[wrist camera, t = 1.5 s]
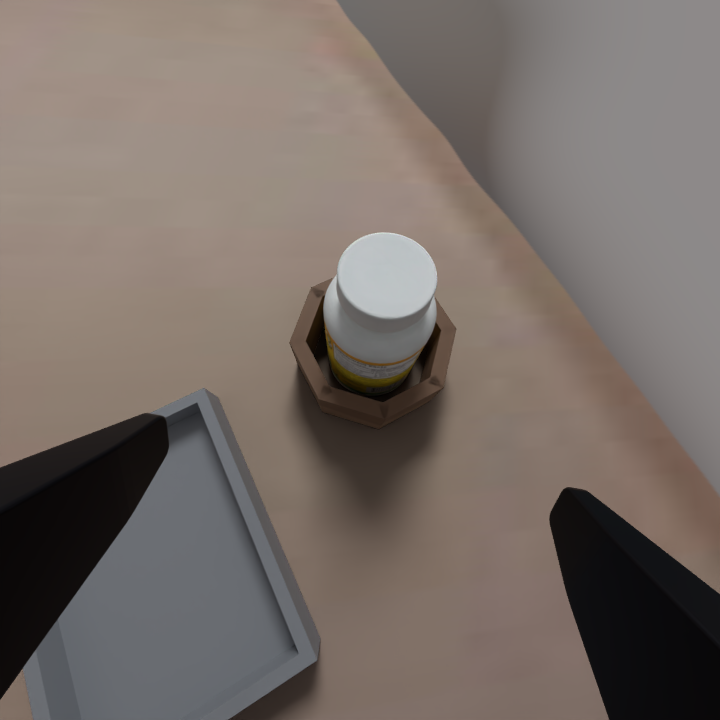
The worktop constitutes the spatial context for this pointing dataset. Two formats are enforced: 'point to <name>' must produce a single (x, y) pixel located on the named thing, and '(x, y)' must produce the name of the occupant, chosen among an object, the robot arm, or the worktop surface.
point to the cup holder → (361, 406)
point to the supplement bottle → (379, 312)
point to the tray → (180, 596)
